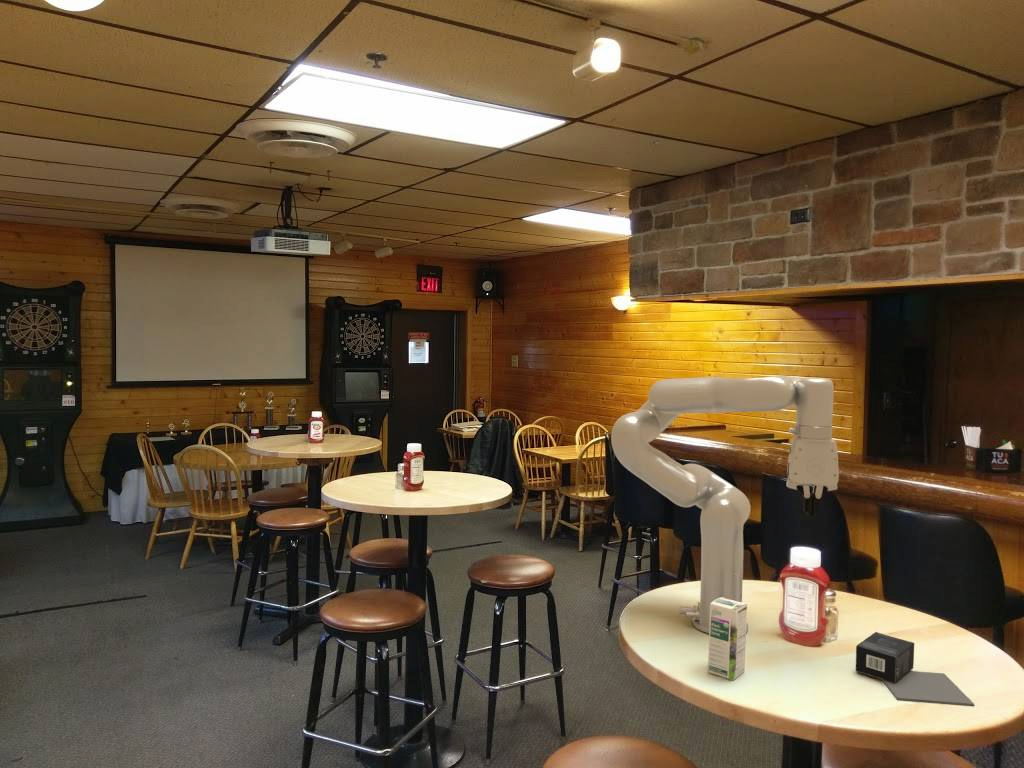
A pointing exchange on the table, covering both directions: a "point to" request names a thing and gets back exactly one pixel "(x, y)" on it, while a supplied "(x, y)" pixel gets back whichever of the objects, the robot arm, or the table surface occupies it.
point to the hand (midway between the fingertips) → (810, 514)
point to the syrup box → (727, 638)
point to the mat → (928, 689)
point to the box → (885, 657)
